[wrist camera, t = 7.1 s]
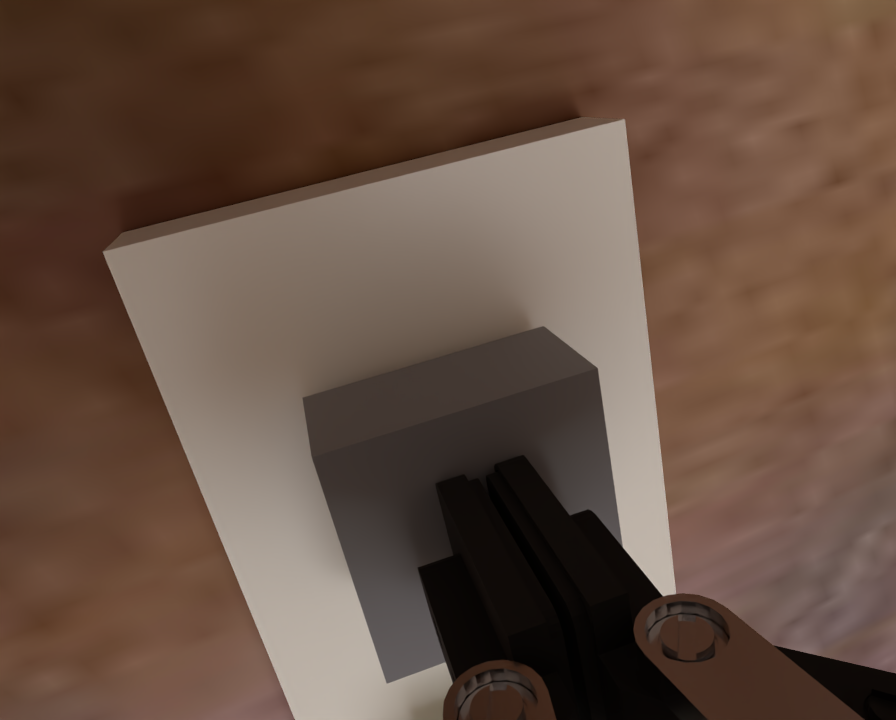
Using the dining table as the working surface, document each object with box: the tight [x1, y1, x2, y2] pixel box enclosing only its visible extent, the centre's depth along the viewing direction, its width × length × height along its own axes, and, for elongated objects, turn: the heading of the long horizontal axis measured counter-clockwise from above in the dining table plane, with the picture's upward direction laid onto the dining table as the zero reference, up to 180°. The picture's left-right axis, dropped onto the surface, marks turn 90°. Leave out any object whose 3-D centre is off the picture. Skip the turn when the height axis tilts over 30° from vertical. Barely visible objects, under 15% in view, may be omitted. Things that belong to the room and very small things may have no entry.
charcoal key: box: [303, 326, 623, 684], centre depth 14 cm, size 5×5×2 cm
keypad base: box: [103, 117, 676, 720], centre depth 20 cm, size 30×10×2 cm, turn 12°
